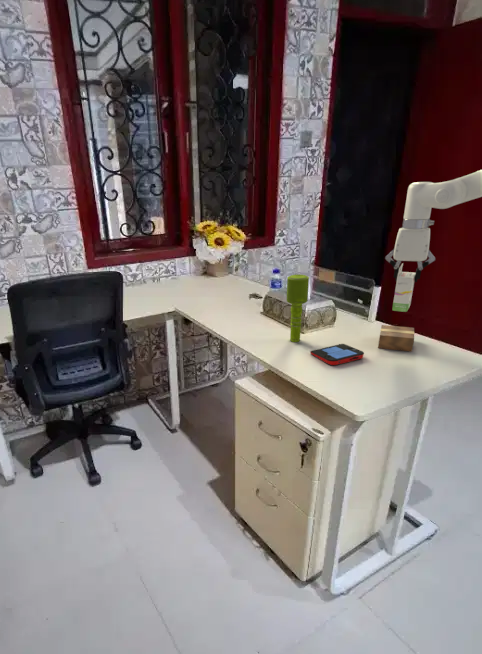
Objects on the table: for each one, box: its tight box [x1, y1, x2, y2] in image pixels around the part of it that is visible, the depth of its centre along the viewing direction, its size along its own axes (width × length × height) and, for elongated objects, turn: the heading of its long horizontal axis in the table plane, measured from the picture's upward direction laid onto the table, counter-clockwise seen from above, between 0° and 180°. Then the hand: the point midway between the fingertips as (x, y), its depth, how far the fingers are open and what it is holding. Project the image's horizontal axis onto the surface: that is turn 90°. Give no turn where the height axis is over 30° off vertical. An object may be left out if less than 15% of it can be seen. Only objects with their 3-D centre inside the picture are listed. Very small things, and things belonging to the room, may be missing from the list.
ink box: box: [392, 263, 416, 313], centre depth 141 cm, size 9×5×15 cm, turn 149°
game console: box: [309, 343, 365, 366], centre depth 144 cm, size 14×13×2 cm
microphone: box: [286, 274, 310, 343], centre depth 154 cm, size 8×8×25 cm
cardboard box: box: [377, 324, 415, 353], centre depth 150 cm, size 11×11×5 cm
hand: (406, 280), depth 140 cm, fingers closed on ink box, 5 cm apart
